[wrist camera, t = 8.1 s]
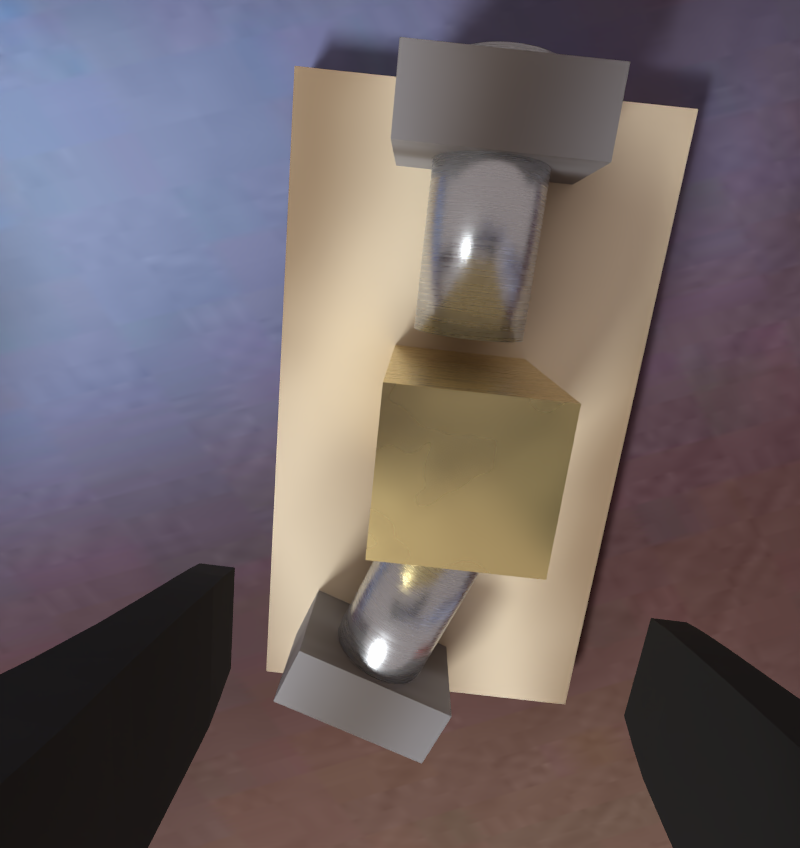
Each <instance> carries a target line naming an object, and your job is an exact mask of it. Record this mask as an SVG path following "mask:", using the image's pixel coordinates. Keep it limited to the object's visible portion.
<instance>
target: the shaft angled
mask: <svg viewBox="0 0 800 848" xmlns="http://www.w3.org/2000/svg"><path fill="white" fill-rule="evenodd" d="M478 574H479V572H470V571H461V570H452V569H443V568H434V567H424V566H415V565H406V564H397V563H388V562H379V561H373V563H372V565H371V566H370V568H369V570H368V572H367V574H366V576H365V578H364V580H363V581H362V583H361V585H360V587H359V589H358V591H357V593H356V595H355V597H354V598H353V600H352V602H351V604H350V606H349V608H348V610H347V612H346V613H345V615H344V617H343V619H342V621H341V623H340V625H339V628H338V638H339V642H340V645H341V647H342V649H343V651H344V652H345V654H346V656H347V657H348V658H349V659H350V660H351V661H352V662H353V663H354V665H356V666H357V667H358V668H359V669H360V670H362V671H363V672H364V673H366V674H368V675H369V676H371V677H373V678H375V679H377V680H380V681H383V682H387V683H392V684H404V683H408V682H411V681H413V680H414V679H415V678H416V677H417V676H418V675H419V673H420V671H421V670H422V668H423V666H424V665H425V663H426V661H427V660H428V658H429V656H430V654H431V653H432V651H433V649H434V648H435V646H436V644H437V643H438V641H439V639H440V638H441V636H442V634H443V633H444V631H445V629H446V628H447V626H448V624H449V623H450V621H451V619H452V618H453V616H454V614H455V613H456V611H457V609H458V608H459V606H460V604H461V602H462V601H463V599H464V597H465V596H466V594H467V592H468V591H469V589H470V587H471V586H472V584H473V582H474V581H475V579H476V577H477V576H478Z"/></svg>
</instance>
